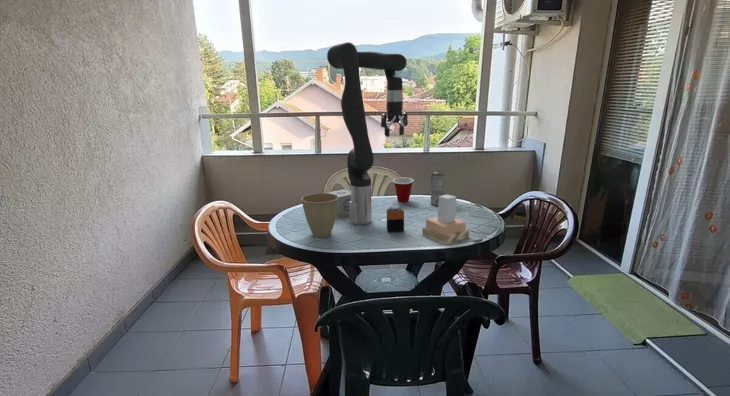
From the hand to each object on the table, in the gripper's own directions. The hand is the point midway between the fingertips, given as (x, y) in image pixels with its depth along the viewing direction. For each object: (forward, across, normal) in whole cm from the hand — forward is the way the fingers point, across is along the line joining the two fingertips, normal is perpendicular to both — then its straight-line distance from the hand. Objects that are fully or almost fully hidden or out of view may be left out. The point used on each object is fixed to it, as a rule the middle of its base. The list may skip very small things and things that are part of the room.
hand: (394, 135), depth 177 cm
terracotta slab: (+33, -6, -41) cm, 53 cm away
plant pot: (+36, -46, -9) cm, 59 cm away
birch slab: (+37, -7, -41) cm, 56 cm away
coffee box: (+36, +24, -6) cm, 44 cm away
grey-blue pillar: (+30, -7, -41) cm, 51 cm away
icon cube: (+36, -24, +10) cm, 45 cm away
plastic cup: (+36, +11, +6) cm, 38 cm away
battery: (+36, -19, -24) cm, 47 cm away
